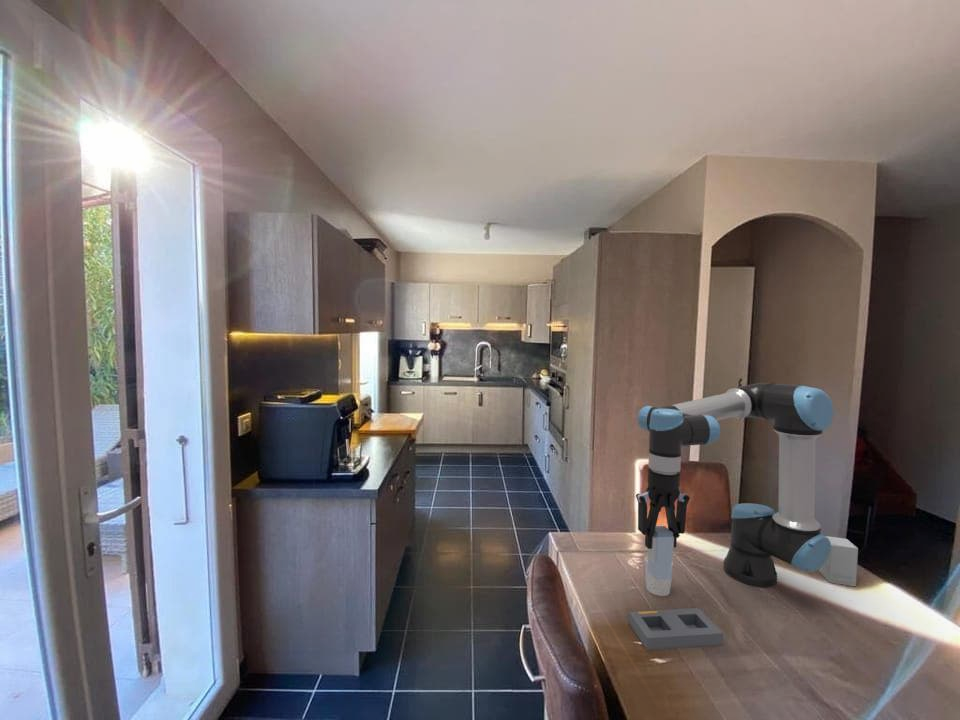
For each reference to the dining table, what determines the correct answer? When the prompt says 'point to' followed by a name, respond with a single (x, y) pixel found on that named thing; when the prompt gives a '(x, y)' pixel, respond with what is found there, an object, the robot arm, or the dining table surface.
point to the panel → (674, 628)
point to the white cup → (657, 582)
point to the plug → (662, 554)
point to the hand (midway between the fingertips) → (659, 559)
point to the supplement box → (841, 562)
